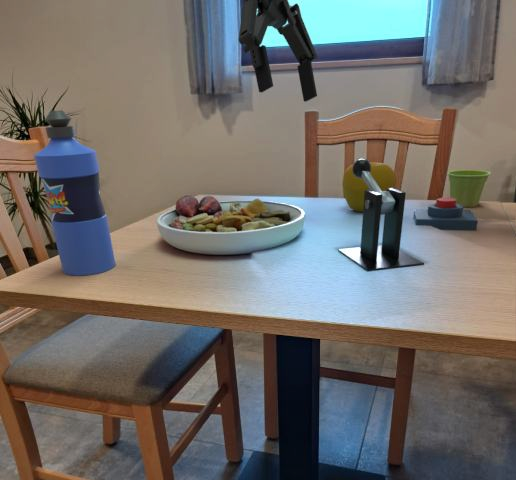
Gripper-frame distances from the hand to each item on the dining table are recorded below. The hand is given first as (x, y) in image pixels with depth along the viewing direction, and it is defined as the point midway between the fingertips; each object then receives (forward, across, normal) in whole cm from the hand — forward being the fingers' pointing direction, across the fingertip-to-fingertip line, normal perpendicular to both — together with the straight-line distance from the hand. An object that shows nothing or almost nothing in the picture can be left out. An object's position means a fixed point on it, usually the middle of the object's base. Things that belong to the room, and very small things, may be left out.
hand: (289, 94), depth 85 cm
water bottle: (+23, +34, -26) cm, 49 cm away
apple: (+21, -34, -6) cm, 40 cm away
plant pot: (+27, -46, +13) cm, 54 cm away
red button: (+26, -28, +15) cm, 41 cm away
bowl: (+23, +5, -17) cm, 29 cm away
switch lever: (+21, +1, +13) cm, 25 cm away
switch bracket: (+33, +3, +13) cm, 36 cm away
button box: (+29, -29, +14) cm, 43 cm away
